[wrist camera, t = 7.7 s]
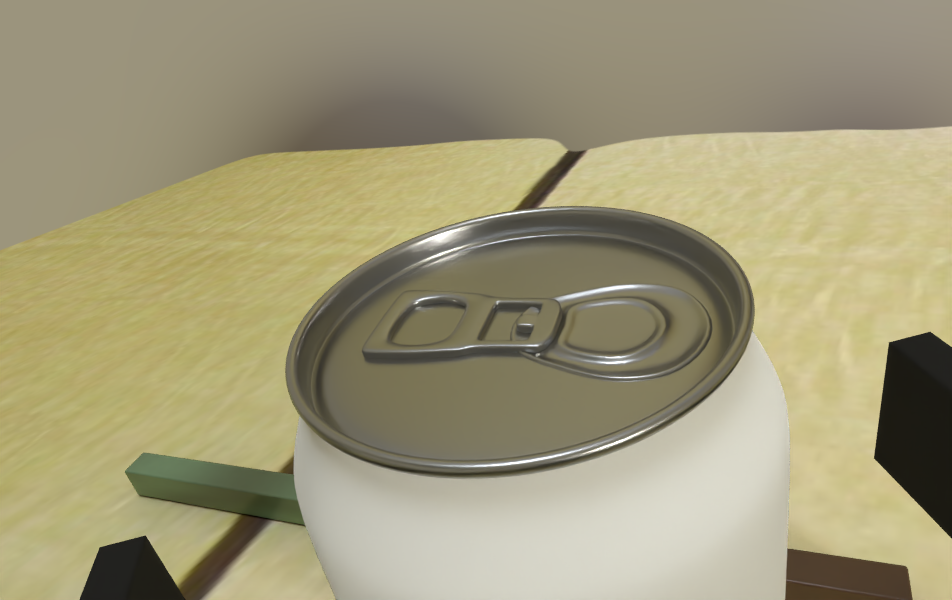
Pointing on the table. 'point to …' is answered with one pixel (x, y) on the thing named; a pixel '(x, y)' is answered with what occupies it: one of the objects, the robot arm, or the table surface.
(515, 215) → the can
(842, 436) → the table surface
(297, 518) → the chopsticks
